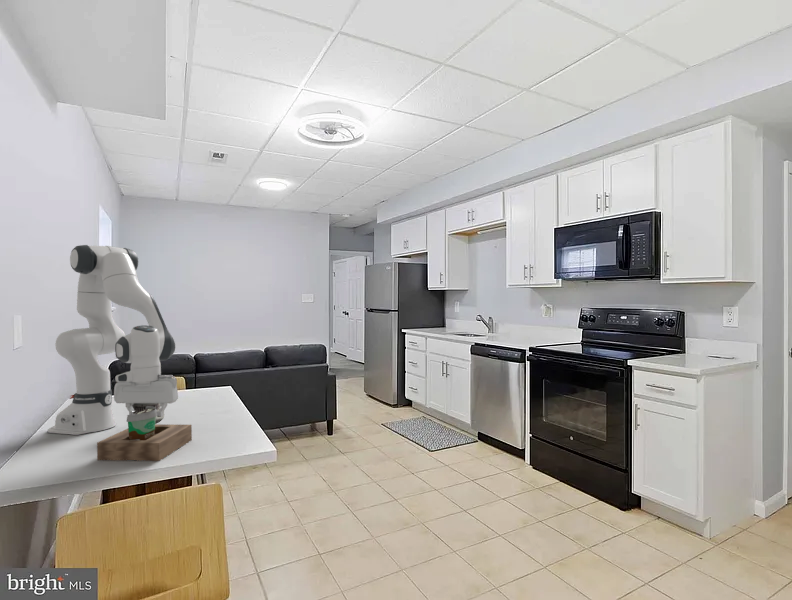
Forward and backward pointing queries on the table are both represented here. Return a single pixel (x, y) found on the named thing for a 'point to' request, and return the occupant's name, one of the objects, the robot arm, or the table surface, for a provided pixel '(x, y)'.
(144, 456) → the walnut base
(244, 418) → the table surface
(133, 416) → the food container
